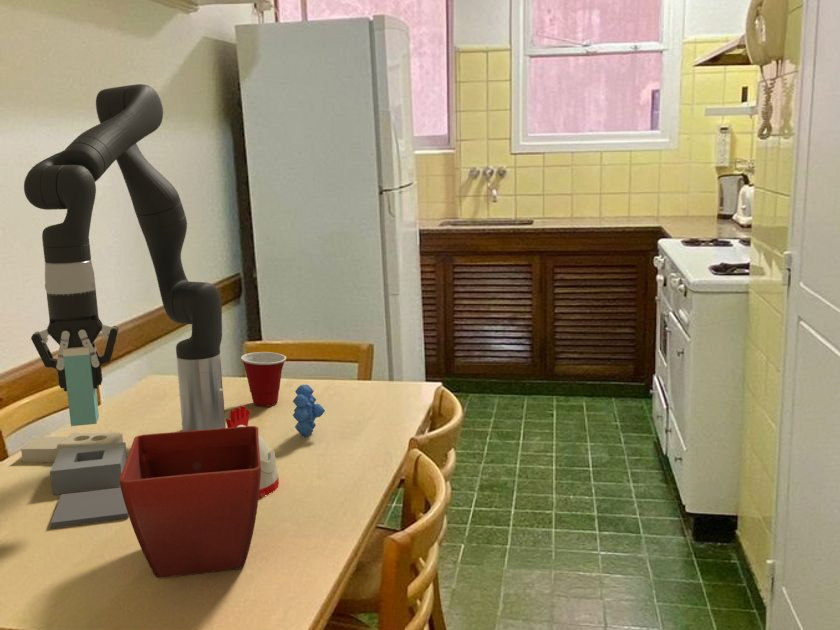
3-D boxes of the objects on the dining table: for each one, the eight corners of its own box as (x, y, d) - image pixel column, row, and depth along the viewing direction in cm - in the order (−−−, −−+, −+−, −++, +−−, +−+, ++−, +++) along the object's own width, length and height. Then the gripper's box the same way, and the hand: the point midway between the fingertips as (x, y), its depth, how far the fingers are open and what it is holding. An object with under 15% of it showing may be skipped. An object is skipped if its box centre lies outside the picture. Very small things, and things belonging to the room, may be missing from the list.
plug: (98, 416, 143) (91, 342, 140) (96, 423, 139) (88, 347, 136) (74, 419, 142) (66, 344, 139) (70, 426, 138) (62, 349, 135)
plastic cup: (284, 409, 197) (282, 361, 194) (239, 410, 197) (236, 361, 195) (292, 396, 207) (289, 350, 205) (249, 397, 208) (246, 350, 205)
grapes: (321, 446, 171) (318, 391, 169) (288, 446, 172) (285, 391, 170) (331, 428, 183) (328, 375, 180) (300, 428, 183) (298, 375, 181)
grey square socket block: (127, 463, 164) (125, 442, 163) (122, 486, 153) (120, 463, 152) (62, 470, 161) (60, 448, 160) (52, 494, 150) (50, 471, 149)
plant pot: (268, 577, 119) (261, 467, 116) (128, 595, 115) (117, 481, 112) (264, 521, 137) (258, 424, 134) (144, 534, 133) (134, 435, 130)
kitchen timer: (292, 477, 156) (287, 401, 153) (254, 507, 143) (249, 424, 140) (227, 469, 160) (222, 395, 157) (186, 497, 147) (179, 417, 145)
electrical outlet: (38, 432, 173) (122, 431, 172) (40, 451, 174) (124, 450, 173) (20, 444, 166) (108, 443, 165) (22, 463, 167) (110, 463, 166)
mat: (132, 491, 151) (132, 486, 150) (127, 518, 139) (127, 513, 139) (62, 499, 148) (61, 494, 147) (51, 528, 136) (50, 522, 136)
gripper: (118, 282, 141) (127, 379, 145) (28, 287, 138) (39, 387, 141) (114, 289, 134) (124, 391, 137) (19, 294, 131) (31, 399, 134)
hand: (81, 388), depth 139 cm, fingers closed on plug, 4 cm apart
